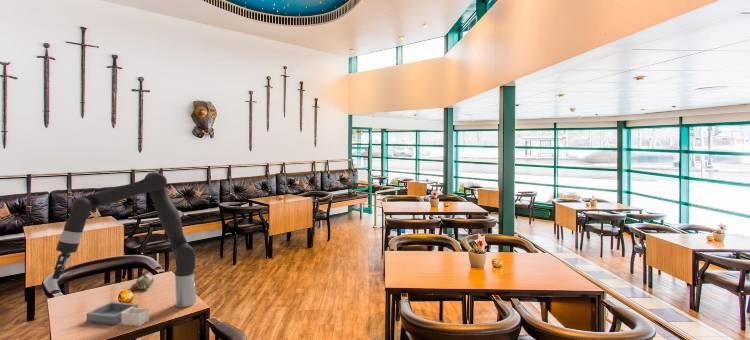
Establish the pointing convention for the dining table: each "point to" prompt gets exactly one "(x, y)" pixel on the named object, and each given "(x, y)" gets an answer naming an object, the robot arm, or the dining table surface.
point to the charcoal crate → (109, 313)
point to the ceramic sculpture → (143, 282)
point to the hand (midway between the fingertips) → (57, 276)
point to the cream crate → (135, 316)
